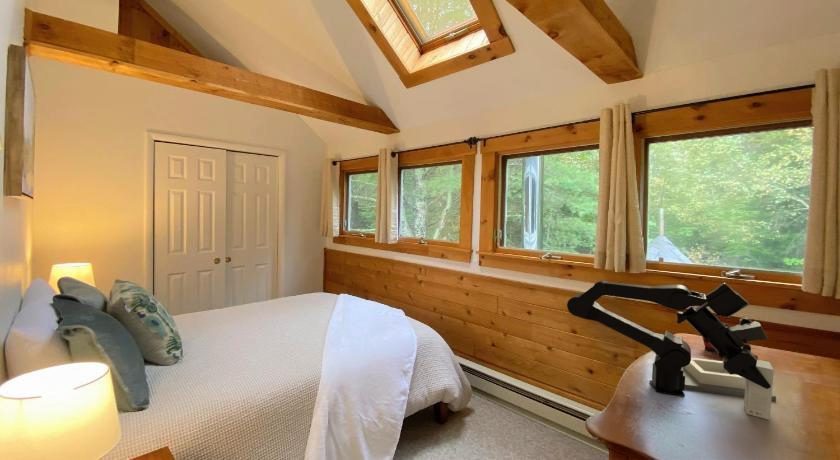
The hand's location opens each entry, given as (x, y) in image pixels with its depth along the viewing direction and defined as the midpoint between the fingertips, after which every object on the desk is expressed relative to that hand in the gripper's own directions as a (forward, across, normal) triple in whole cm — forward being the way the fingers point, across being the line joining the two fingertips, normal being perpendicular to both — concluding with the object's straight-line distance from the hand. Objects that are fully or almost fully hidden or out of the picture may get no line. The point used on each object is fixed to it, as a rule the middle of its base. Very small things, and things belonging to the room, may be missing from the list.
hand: (766, 382), depth 87 cm
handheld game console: (+3, +43, +8) cm, 44 cm away
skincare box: (+4, 0, +6) cm, 8 cm away
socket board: (-1, +14, +11) cm, 18 cm away
